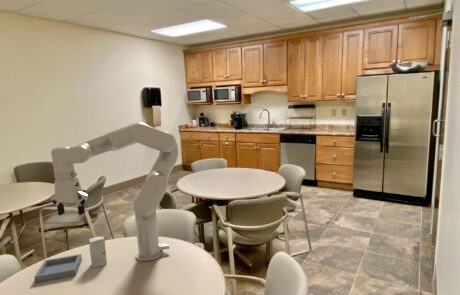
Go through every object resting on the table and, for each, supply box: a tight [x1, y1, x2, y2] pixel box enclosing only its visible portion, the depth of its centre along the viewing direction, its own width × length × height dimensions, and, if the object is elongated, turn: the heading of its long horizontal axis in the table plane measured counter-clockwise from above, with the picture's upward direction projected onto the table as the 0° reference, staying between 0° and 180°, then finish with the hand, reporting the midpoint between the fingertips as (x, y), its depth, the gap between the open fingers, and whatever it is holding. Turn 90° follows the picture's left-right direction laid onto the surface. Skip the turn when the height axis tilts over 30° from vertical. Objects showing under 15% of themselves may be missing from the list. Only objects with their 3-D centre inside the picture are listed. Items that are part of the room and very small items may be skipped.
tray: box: [33, 253, 83, 285], centre depth 131 cm, size 15×14×3 cm
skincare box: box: [88, 235, 108, 268], centre depth 135 cm, size 6×4×12 cm
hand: (71, 214), depth 130 cm, fingers open, 9 cm apart
